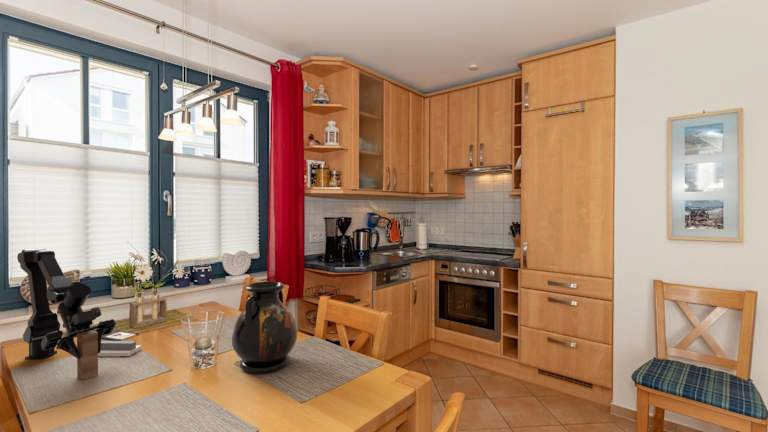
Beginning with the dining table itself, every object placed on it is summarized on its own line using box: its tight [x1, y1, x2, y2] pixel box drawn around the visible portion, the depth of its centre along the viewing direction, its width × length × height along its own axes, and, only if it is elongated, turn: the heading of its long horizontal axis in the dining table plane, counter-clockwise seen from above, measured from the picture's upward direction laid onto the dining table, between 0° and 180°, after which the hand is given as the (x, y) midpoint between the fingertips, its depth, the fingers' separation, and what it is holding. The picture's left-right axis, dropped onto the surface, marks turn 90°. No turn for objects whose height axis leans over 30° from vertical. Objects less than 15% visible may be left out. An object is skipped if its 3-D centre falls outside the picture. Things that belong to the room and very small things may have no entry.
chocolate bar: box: [101, 329, 140, 341], centre depth 158 cm, size 9×1×18 cm
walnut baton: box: [76, 330, 99, 381], centre depth 120 cm, size 4×4×14 cm
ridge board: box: [98, 340, 142, 357], centre depth 139 cm, size 18×7×4 cm, turn 89°
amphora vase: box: [231, 281, 298, 375], centre depth 129 cm, size 22×22×28 cm
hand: (89, 355), depth 119 cm, fingers open, 5 cm apart
